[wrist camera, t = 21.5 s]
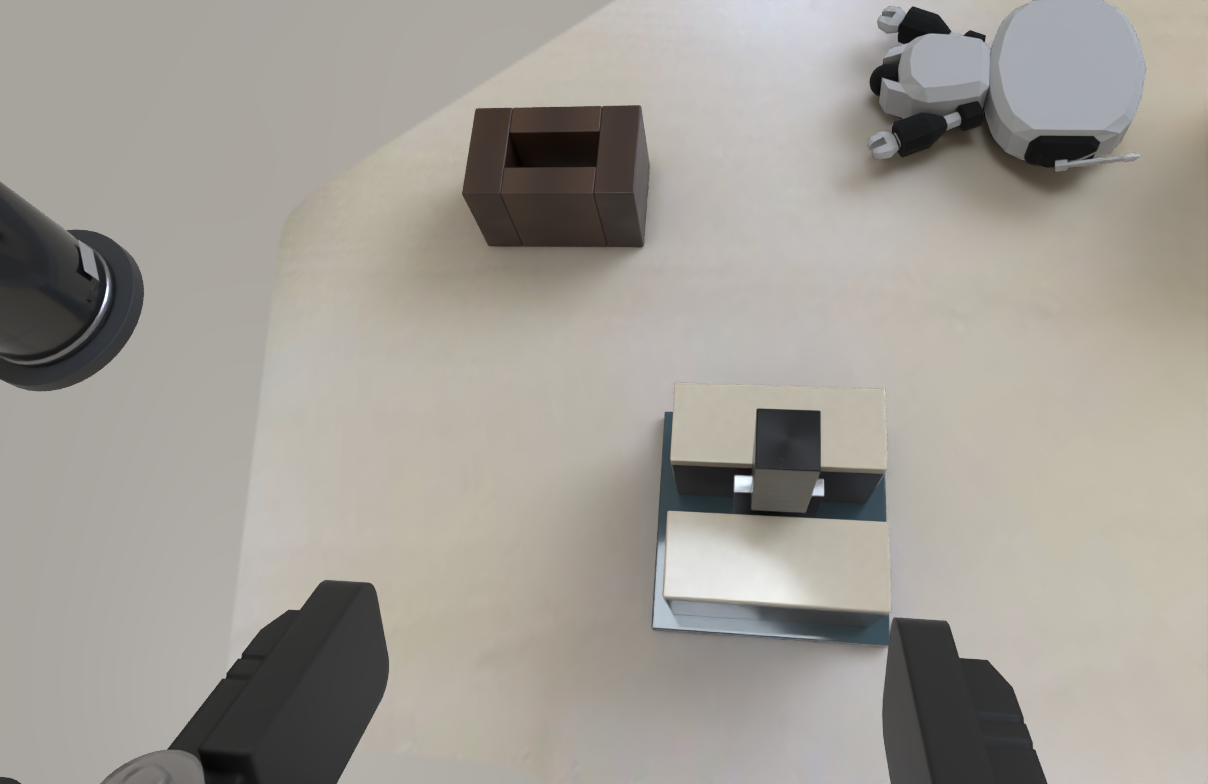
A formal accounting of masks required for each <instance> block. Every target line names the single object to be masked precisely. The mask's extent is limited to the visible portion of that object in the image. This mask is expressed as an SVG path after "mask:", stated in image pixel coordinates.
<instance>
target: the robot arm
mask: <svg viewBox="0 0 1208 784" xmlns="http://www.w3.org/2000/svg"><path fill="white" fill-rule="evenodd" d="M115 295H116V281H115V276H114V273H113V270H112V268H111V266H110V264H109V263H108V261H107V260H106V259H105V258H104V257H103V256H102V255H101V254H100V253H98V252H97V251H96V250H94V249H93V248H92V247H90V246H89V245H87V244H85V243H83V242H81V241H80V240H78V239H77V238H76V237H74V236H73V235H72V234H70V233H69V232H68V231H66V230H65V229H64V228H62V227H61V226H60V225H58V224H57V223H56V222H54V221H53V220H52V219H50V218H49V217H48V216H46V215H45V214H44V213H42V212H41V211H39V210H38V209H37V208H35V207H34V206H33V205H31V204H30V203H29V202H27V201H26V200H25V199H23V198H22V197H20V196H19V195H18V194H16V193H15V192H14V191H12V190H11V189H10V188H8V187H7V186H5V185H4V184H3V183H1V182H0V358H2V359H4V360H6V361H8V362H11V363H13V364H15V365H18V366H22V367H30V368H36V367H45V366H50V365H53V364H56V363H59V362H61V361H64V360H66V359H68V358H70V357H71V356H73V355H75V354H76V353H78V352H79V351H81V350H82V349H83V348H84V347H86V346H87V345H88V344H89V343H90V342H91V341H92V340H93V339H94V338H95V337H96V336H97V334H98V333H99V332H100V331H101V329H102V328H103V326H104V325H105V323H106V321H107V319H108V318H109V315H110V313H111V311H112V308H113V305H114V301H115ZM388 673H389V658H388V652H387V646H386V641H385V636H384V630H383V625H382V619H381V614H380V609H379V603H378V598H377V593H376V590H375V588H374V586H373V585H372V584H371V583H366V582H350V581H334V580H325V581H323V582H321V583H320V584H319V585H318V586H317V588H316V589H315V590H314V592H313V593H312V594H311V596H310V597H309V599H308V600H307V601H306V603H305V604H304V605H303V607H302V608H301V609H300V610H288V611H286V612H285V613H284V614H282V615H281V616H279V617H278V618H277V619H275V620H274V621H272V622H271V623H270V624H268V625H267V626H265V627H264V628H263V629H261V630H260V631H259V633H258V634H257V635H256V636H255V638H254V639H253V640H252V642H251V643H250V644H249V645H248V647H247V648H246V649H245V651H244V652H243V653H242V658H241V659H238V660H237V661H236V662H235V663H234V665H233V666H232V667H231V668H230V670H229V671H228V672H227V676H226V679H222V680H221V681H220V683H219V684H218V685H217V686H216V688H215V689H214V690H213V692H212V693H211V694H210V695H209V697H208V698H207V699H206V701H205V702H204V703H203V704H202V706H201V707H200V708H199V710H198V711H197V712H196V713H195V715H194V716H193V717H192V718H191V720H190V721H189V722H188V724H187V725H186V726H185V728H184V729H183V730H182V731H181V733H180V734H179V735H178V737H177V738H176V739H175V740H174V742H173V743H172V744H171V745H170V747H169V748H168V749H167V750H162V751H156V752H152V753H149V754H146V755H142V756H140V757H138V758H136V759H133V760H131V761H129V762H128V763H126V764H124V765H122V766H121V767H119V768H118V769H116V770H115V771H114V772H112V773H111V774H110V775H109V776H107V778H105V779H104V780H103V781H102V782H101V783H100V784H337V782H338V780H339V778H340V776H341V774H342V773H343V771H344V769H345V767H346V765H347V763H348V761H349V759H350V758H351V756H352V754H353V752H354V750H355V748H356V746H357V744H358V743H359V741H360V739H361V737H362V735H363V733H364V731H365V730H366V728H367V726H368V724H369V722H370V720H371V718H372V716H373V715H374V713H375V711H376V709H377V707H378V705H379V703H380V701H381V699H382V697H383V695H384V692H385V689H386V685H387V680H388ZM882 719H883V736H884V745H885V751H886V757H887V763H888V769H889V775H890V781H891V784H1047V781H1046V778H1045V776H1044V773H1043V770H1042V767H1041V765H1040V762H1039V759H1038V756H1037V753H1036V751H1035V750H1034V749H1033V742H1032V740H1031V737H1030V734H1029V731H1028V729H1027V726H1026V724H1024V718H1023V715H1022V712H1021V709H1020V706H1019V704H1018V701H1017V698H1016V695H1015V693H1014V690H1013V687H1012V686H1011V685H1010V684H1009V683H1008V682H1007V681H1006V680H1005V679H1004V678H1003V677H1002V675H1001V674H1000V673H999V672H998V671H997V670H996V669H995V668H994V667H993V666H992V665H991V663H990V662H989V661H988V660H979V659H965V658H959V656H958V652H957V649H956V646H955V642H954V639H953V636H952V632H951V629H950V626H949V624H948V622H947V621H941V620H926V619H910V618H893V620H892V623H891V629H890V638H889V647H888V656H887V666H886V675H885V684H884V693H883V709H882ZM0 784H21V783H19V782H18V781H17V780H14V779H11V778H6V777H0Z"/></svg>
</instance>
